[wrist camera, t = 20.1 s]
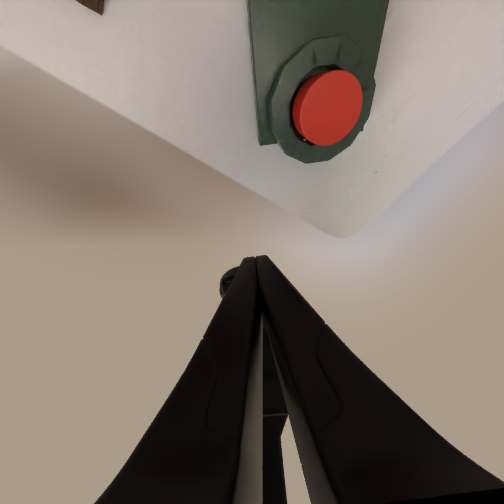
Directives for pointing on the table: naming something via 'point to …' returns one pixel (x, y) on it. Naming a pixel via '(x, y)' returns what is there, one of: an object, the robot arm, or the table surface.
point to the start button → (327, 106)
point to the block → (310, 62)
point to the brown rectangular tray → (93, 5)
